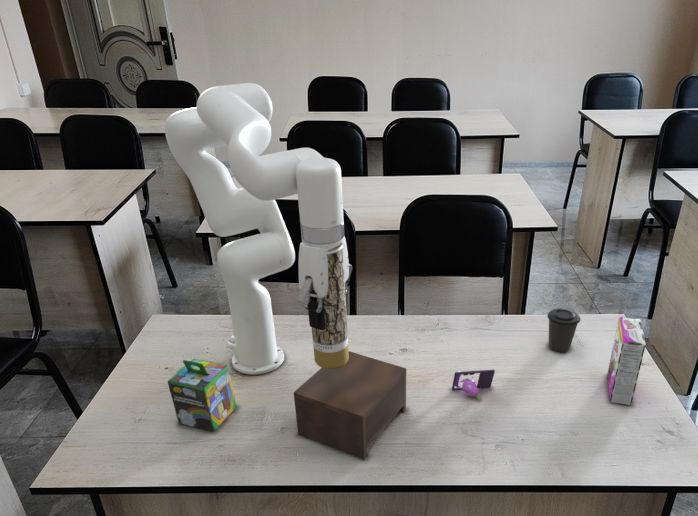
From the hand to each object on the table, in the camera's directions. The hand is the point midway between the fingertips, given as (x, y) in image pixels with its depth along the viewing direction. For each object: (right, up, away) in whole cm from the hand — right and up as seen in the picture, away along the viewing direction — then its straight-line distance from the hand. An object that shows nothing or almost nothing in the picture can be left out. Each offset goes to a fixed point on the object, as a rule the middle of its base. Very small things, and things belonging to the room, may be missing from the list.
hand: (328, 318), depth 115 cm
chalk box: (-28, -21, +16) cm, 38 cm away
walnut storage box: (+4, -22, +14) cm, 26 cm away
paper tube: (0, -9, +5) cm, 10 cm away
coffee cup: (+54, -6, +40) cm, 67 cm away
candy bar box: (+64, -16, +24) cm, 70 cm away
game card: (+30, -17, +22) cm, 41 cm away
